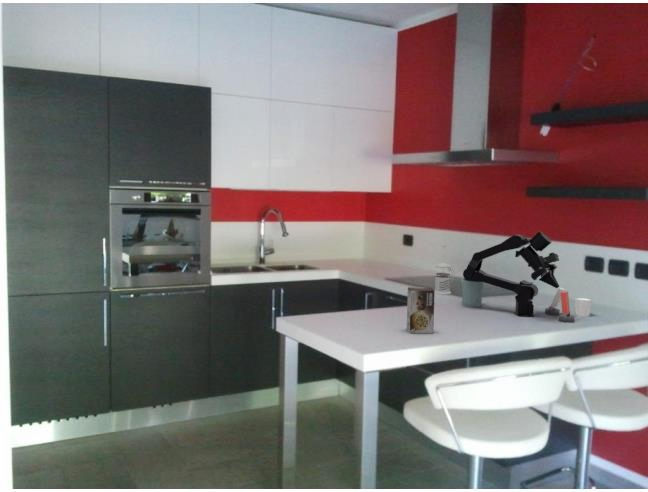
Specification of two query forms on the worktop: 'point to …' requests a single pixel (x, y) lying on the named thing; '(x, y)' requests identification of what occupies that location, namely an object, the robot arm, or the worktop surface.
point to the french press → (443, 279)
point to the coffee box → (420, 310)
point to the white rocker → (557, 298)
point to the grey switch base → (552, 311)
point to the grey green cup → (472, 293)
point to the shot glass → (583, 306)
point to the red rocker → (565, 302)
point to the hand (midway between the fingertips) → (558, 287)
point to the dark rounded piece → (566, 318)
